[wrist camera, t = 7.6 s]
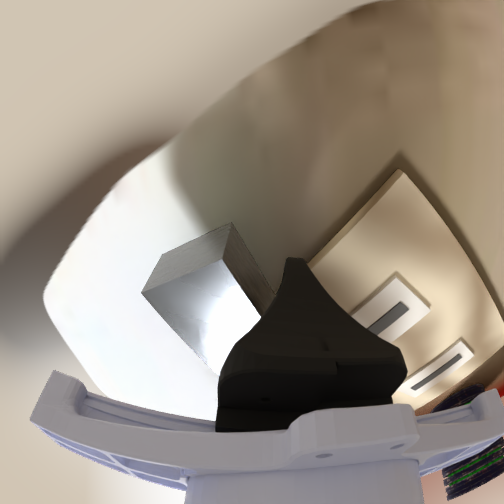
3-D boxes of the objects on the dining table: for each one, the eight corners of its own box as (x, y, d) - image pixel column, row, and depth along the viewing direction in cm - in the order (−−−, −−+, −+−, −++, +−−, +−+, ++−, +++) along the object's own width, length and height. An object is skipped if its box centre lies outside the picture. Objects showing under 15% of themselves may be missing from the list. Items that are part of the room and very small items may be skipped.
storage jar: (482, 375, 24) (514, 466, 12) (485, 393, 28) (509, 467, 15) (421, 412, 28) (441, 504, 16) (434, 423, 32) (451, 498, 19)
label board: (398, 413, 28) (400, 421, 27) (221, 344, 21) (219, 356, 20) (508, 333, 20) (512, 341, 19) (397, 168, 13) (407, 174, 12)
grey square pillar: (332, 381, 21) (338, 426, 17) (288, 393, 22) (289, 436, 19) (234, 210, 14) (222, 259, 10) (169, 241, 15) (140, 293, 11)
